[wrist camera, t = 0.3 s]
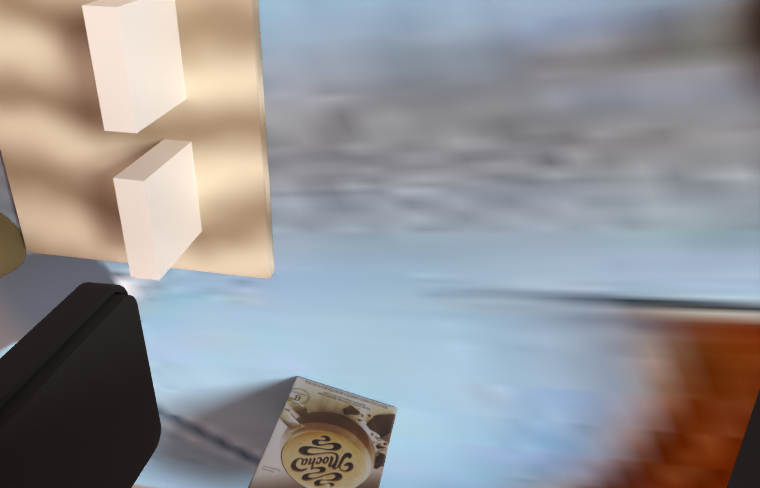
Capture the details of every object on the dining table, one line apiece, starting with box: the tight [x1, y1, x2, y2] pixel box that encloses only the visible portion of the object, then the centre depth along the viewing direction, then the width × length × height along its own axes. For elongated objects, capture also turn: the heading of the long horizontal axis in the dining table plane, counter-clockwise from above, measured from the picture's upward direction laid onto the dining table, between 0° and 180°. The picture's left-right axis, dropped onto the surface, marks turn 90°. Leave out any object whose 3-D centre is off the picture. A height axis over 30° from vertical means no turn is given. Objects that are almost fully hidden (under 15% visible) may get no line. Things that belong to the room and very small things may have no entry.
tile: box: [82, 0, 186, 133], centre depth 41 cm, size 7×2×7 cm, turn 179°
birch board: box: [0, 0, 274, 279], centre depth 47 cm, size 24×20×1 cm
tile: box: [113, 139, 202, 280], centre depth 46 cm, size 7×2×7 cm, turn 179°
